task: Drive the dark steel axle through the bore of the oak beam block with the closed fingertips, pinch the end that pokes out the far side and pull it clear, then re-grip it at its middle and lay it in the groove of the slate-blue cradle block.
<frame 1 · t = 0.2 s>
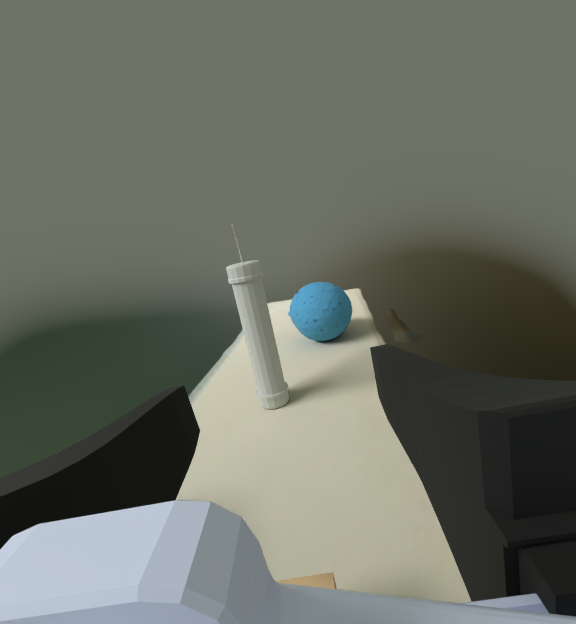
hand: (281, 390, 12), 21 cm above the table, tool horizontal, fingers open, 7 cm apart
pipe: (275, 403, 54), on the table
educational model: (325, 338, 80), on the table
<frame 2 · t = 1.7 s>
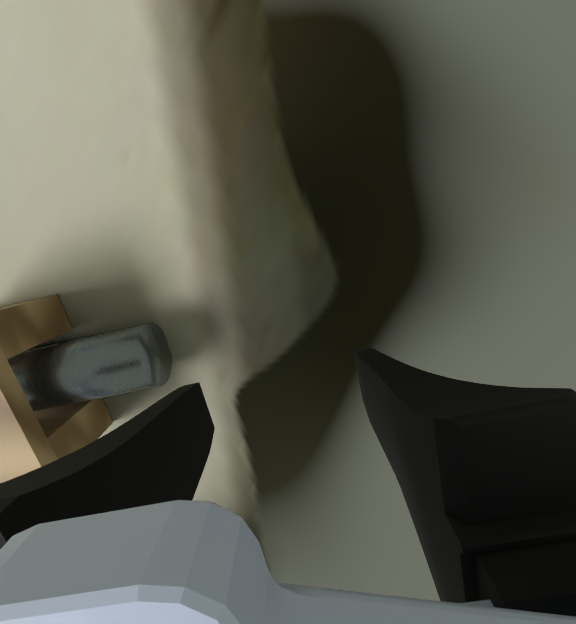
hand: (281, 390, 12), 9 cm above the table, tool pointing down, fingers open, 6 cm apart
beam: (54, 368, 22), on the table
axle: (88, 360, 22), on the table
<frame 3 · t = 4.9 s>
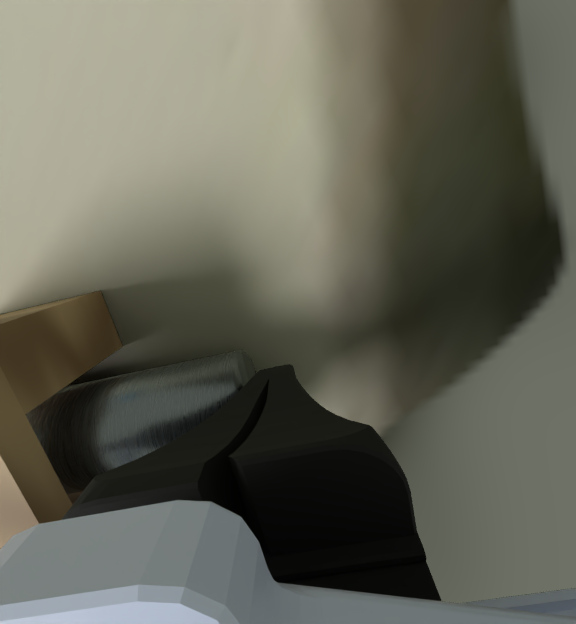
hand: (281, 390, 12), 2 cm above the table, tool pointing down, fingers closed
beam: (91, 407, 14), on the table
axle: (127, 399, 14), on the table, tilted 6°, touching gripper
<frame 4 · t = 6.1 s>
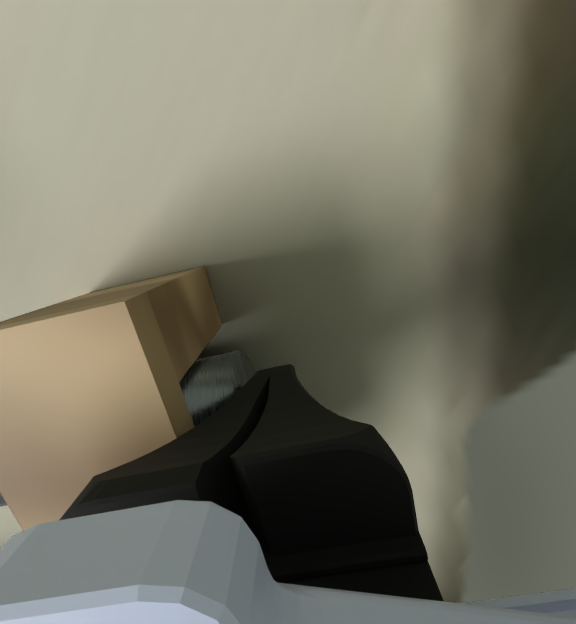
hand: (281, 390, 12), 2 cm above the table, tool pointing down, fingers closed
beam: (184, 388, 14), on the table
axle: (126, 399, 14), on the table, tilted 6°, touching gripper
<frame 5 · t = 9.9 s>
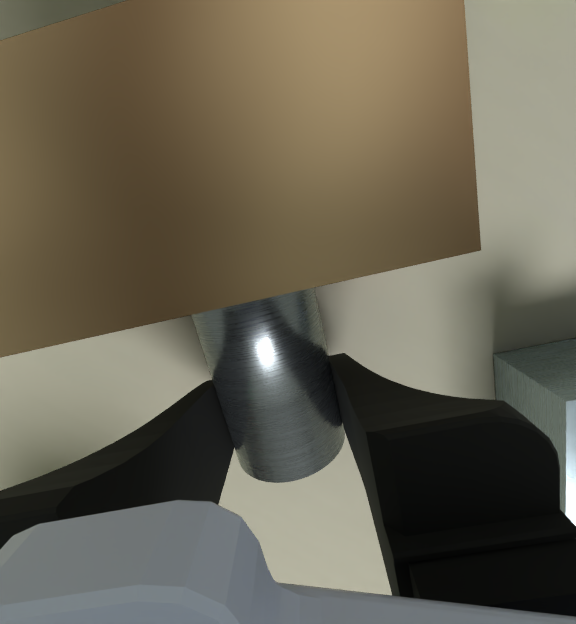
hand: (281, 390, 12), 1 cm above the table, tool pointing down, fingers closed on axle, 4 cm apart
beam: (237, 200, 11), on the table
axle: (255, 273, 12), on the table, touching gripper
when the fingers open (1 cm above the table, at t = 12.2 s): axle stays where it is, on the table.
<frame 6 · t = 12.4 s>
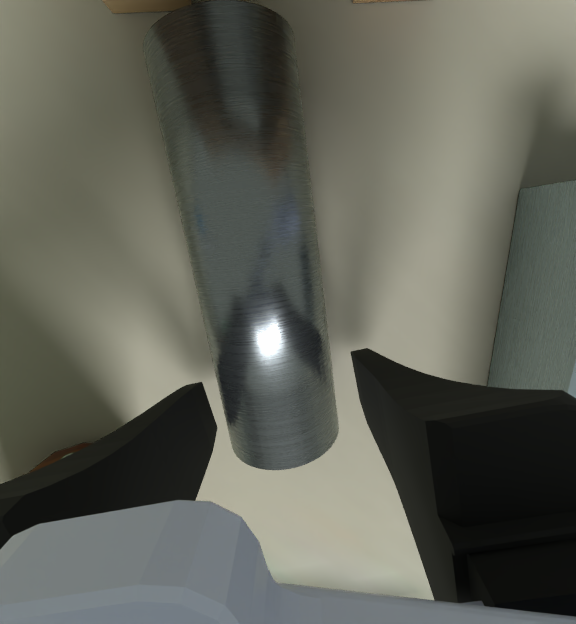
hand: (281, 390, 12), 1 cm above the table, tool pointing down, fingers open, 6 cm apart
food container: (64, 502, 15), on the table
axle: (265, 263, 12), on the table
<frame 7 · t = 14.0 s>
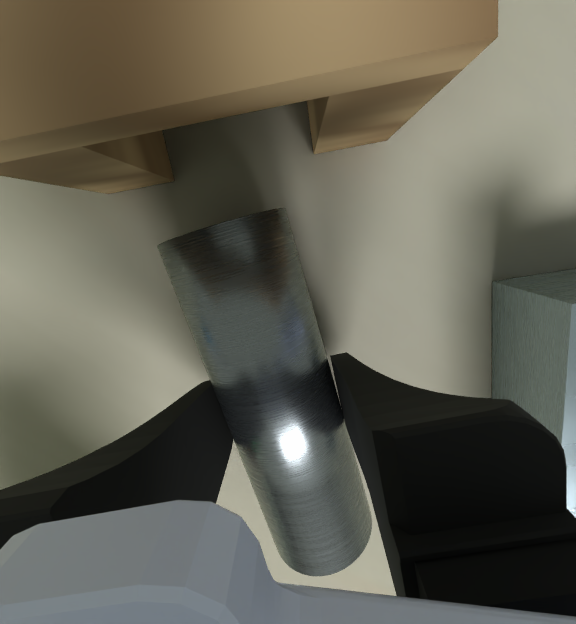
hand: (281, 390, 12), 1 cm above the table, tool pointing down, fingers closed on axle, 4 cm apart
beam: (227, 86, 10), on the table
axle: (266, 374, 13), on the table, tilted 18°, touching gripper
when the fingers open (5 cm above the table, at t = 17.6 s): axle stays where it is, resting on cradle.
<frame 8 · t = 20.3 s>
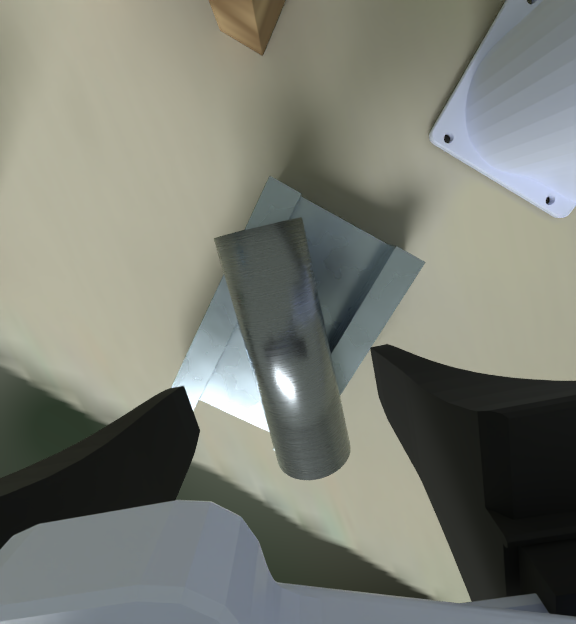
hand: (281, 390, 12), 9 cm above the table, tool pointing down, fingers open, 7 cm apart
axle: (271, 341, 17), point 4 cm above the table, tilted 30°, touching cradle
cradle: (287, 318, 21), on the table
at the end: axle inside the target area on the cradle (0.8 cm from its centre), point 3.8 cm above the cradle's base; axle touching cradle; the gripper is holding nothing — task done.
